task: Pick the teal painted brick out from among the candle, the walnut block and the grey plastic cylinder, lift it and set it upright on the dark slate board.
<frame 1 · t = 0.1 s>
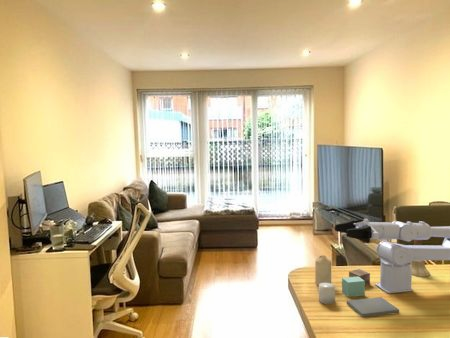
hand: (341, 230, 122), 22 cm above the table, tool horizontal, fingers open, 7 cm apart
grey cylinder: (326, 300, 118), on the table
slate board: (372, 308, 112), on the table
candle: (323, 284, 132), on the table
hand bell: (417, 273, 141), on the table
walnut block: (359, 283, 132), on the table
teal brick: (353, 293, 123), on the table
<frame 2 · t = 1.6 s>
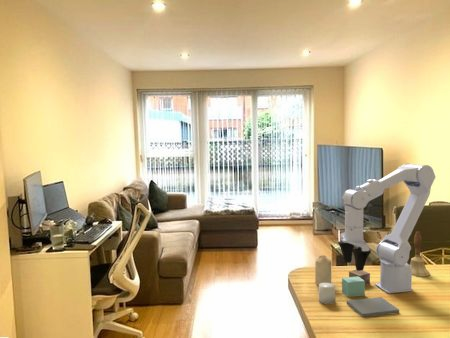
hand: (353, 266, 122), 9 cm above the table, tool pointing down, fingers open, 7 cm apart
nothing on the table moved.
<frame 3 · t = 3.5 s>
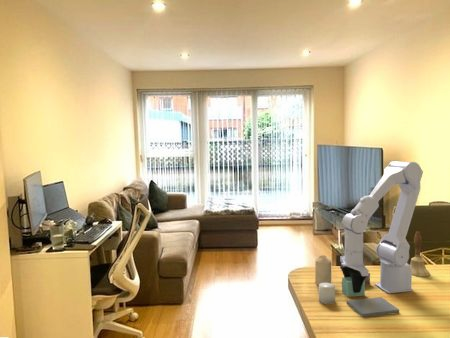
hand: (353, 289, 123), 1 cm above the table, tool pointing down, fingers closed on teal brick, 4 cm apart
teal brick: (353, 293, 123), on the table, touching gripper
everything else where it was.
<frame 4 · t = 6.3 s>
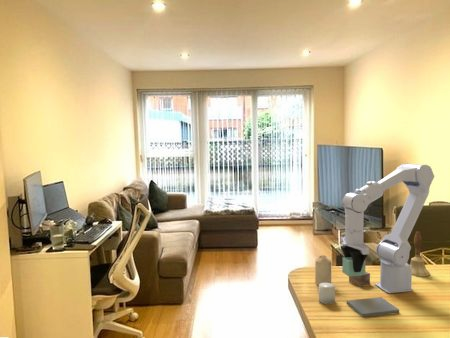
hand: (353, 269, 122), 8 cm above the table, tool pointing down, fingers closed on teal brick, 4 cm apart
teal brick: (353, 273, 122), point 7 cm above the table, touching gripper
everything else where it was.
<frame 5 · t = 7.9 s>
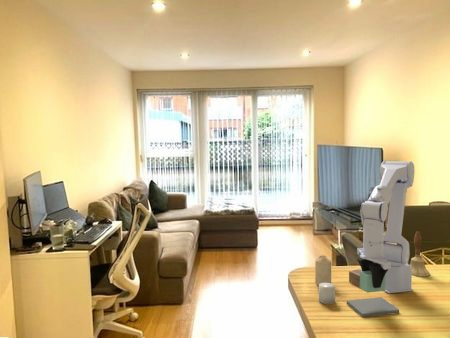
hand: (372, 284, 112), 7 cm above the table, tool pointing down, fingers closed on teal brick, 4 cm apart
teal brick: (372, 289, 112), point 6 cm above the table, touching gripper
everything else where it was.
when the fingers open (4 cm above the table, at t = 9.0 s): teal brick drops 1 cm, resting on slate board.
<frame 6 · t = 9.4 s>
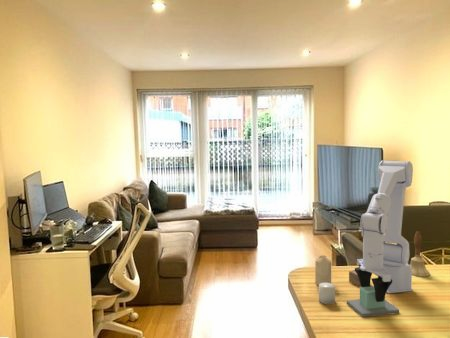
hand: (372, 295, 112), 4 cm above the table, tool pointing down, fingers open, 7 cm apart
teal brick: (372, 305, 112), point 1 cm above the table, touching slate board
everything else where it was.
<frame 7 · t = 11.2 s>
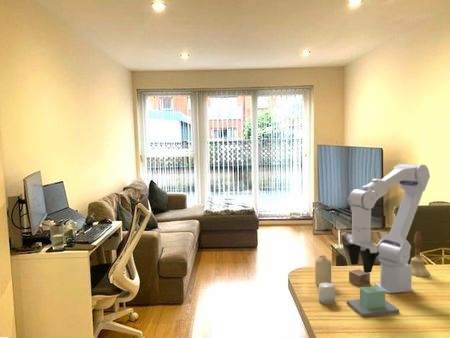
hand: (360, 268, 119), 10 cm above the table, tool pointing down, fingers open, 7 cm apart
nothing on the table moved.
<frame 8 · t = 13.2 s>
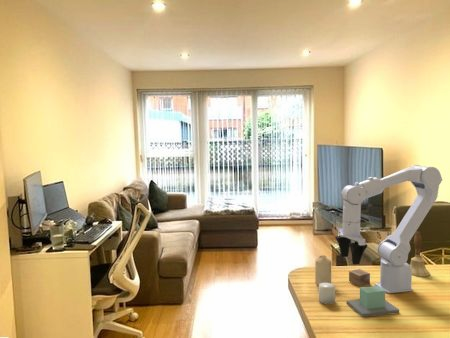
hand: (350, 260, 125), 10 cm above the table, tool pointing down, fingers open, 7 cm apart
nothing on the table moved.
at the end: teal brick 0.0 cm off-centre on the slate board, point 1.0 cm above the slate board's base; teal brick tilted 0°; the gripper is holding nothing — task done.
